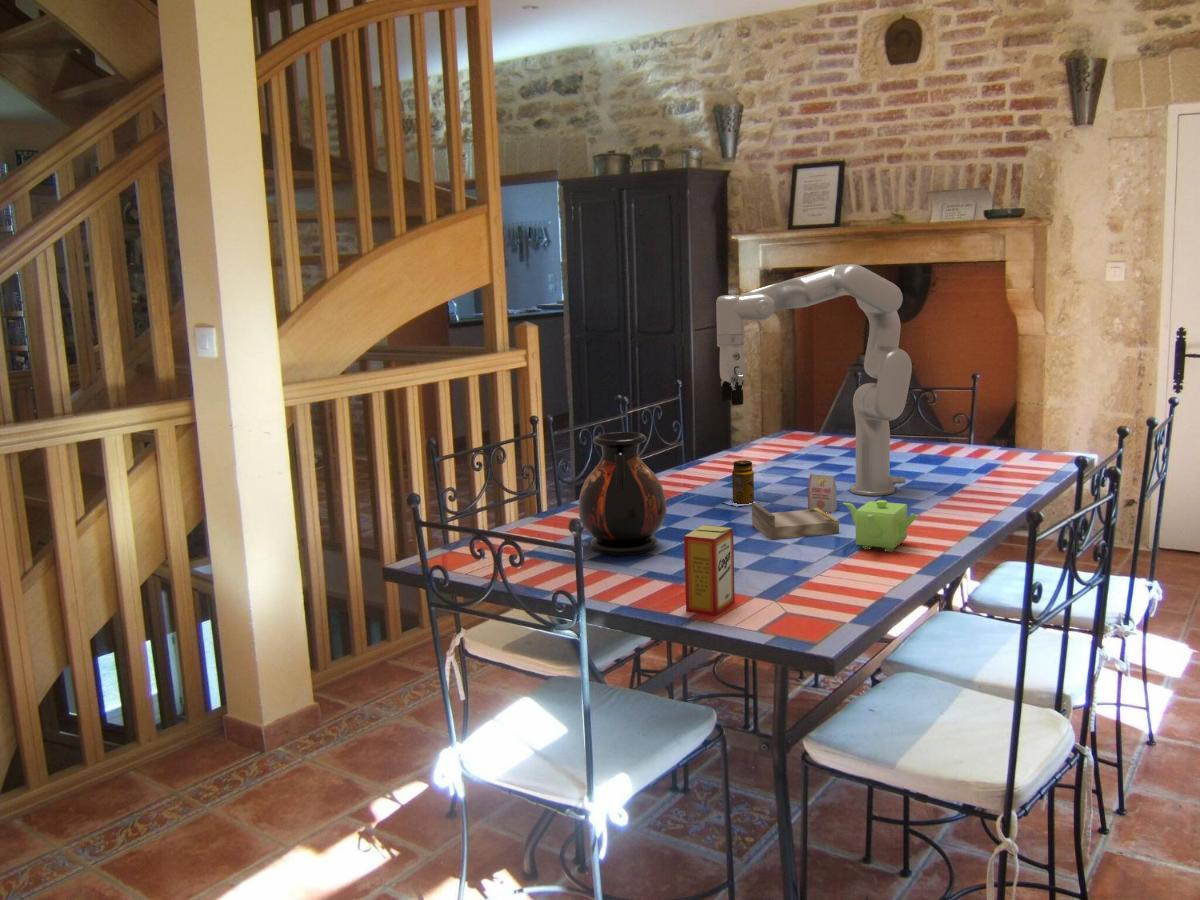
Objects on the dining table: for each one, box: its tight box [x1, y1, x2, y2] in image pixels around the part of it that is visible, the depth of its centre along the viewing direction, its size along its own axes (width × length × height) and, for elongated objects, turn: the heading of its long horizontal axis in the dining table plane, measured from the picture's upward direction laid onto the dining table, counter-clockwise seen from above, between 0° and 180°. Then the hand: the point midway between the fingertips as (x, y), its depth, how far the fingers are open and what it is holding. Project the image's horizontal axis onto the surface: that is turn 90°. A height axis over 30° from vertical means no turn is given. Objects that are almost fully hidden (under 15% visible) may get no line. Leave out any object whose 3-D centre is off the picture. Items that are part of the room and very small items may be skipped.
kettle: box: [842, 499, 918, 552], centre depth 247 cm, size 15×14×11 cm
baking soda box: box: [683, 524, 736, 616], centre depth 210 cm, size 10×6×16 cm
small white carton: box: [807, 473, 838, 514], centre depth 283 cm, size 4×7×10 cm, turn 58°
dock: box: [751, 503, 840, 540], centre depth 266 cm, size 18×14×6 cm
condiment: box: [731, 459, 755, 504], centre depth 295 cm, size 7×8×12 cm
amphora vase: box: [577, 431, 667, 556], centre depth 254 cm, size 22×22×28 cm
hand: (732, 402), depth 289 cm, fingers open, 9 cm apart
